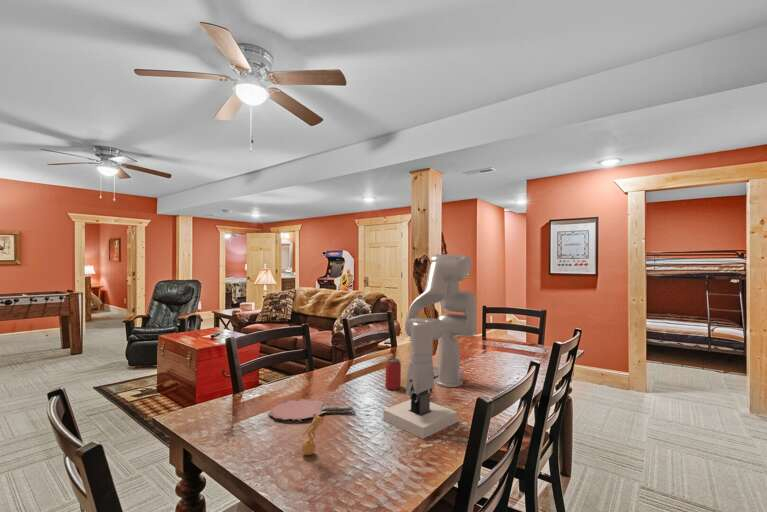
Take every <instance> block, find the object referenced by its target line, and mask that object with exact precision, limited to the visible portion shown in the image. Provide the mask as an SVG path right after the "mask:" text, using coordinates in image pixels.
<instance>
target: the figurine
mask: <svg viewBox="0 0 767 512" xmlns="http://www.w3.org/2000/svg"><path fill="white" fill-rule="evenodd" d="M312 418H313V419H312V420H313V421H311V423H310V424H309V426H308V428H306V430H304V432H303V434H302V437H304V436H305V435H306V434H307V435H308V438H309V439H306V440H304V441H303V442H302V444H301V452H302V454H304V455H305V456H311V455H313V454H314V453H315V451H316V447H317V446H316V445H317V444H316V442H315V441H314V439H315V437H316V433H315V432H316V431H317V430H318V428H319V425H323V423H324V421H325V417H323V416H321V415H317V414H316V413H314V414H313V417H312ZM311 434H312V435H311Z"/></svg>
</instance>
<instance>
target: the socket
mask: <svg viewBox="0 0 767 512" xmlns="http://www.w3.org/2000/svg"><path fill="white" fill-rule="evenodd" d="M382 416H383V417H382V419H383V421H385V422H387V423H389V424H391V425H393V426H395V427H397V428H399V429H402V430H404V431H405V432H408V433H410V434H411V435H414V436H416V437H418V438H419V439H420V438H421V439H422V440H424V438H425V439H426V437H427V438H428V436H429V437H431V436H432V435H434V434H436V433H438V432H440V431H442V430H444V429H446V428H448V427H450V426H453V425H454V424H456V423H457V422H458V411H456V410H453V409H450V408H448V407H446V406H443V405H439V404H437V403H434V402H432V401H430V413H427V414H425V415H423V416H420V415H417V414H415V413H413V412H411V400H410V399H409V400H405V401H403V402H401V403H398V404H395V405H392V406H390V407H387V408H384V409H383V415H382Z"/></svg>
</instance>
